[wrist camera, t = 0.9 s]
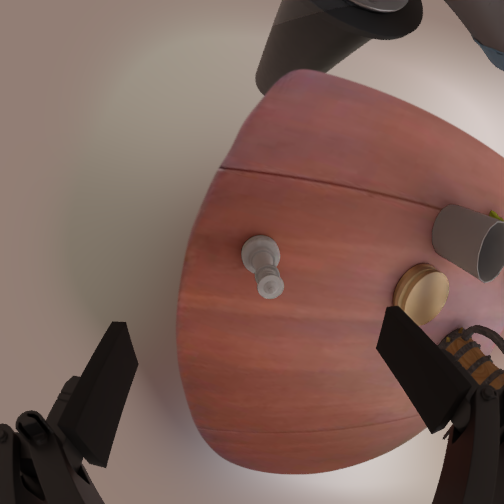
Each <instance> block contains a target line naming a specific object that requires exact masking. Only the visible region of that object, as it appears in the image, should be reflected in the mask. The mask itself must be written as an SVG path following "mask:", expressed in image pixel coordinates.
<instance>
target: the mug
mask: <svg viewBox="0 0 504 504" xmlns="http://www.w3.org/2000/svg"><path fill="white" fill-rule="evenodd" d="M473 333H478V334H482V335H484V336H486V337H488V338H489V339H491V340H492V341H493V342H494V343H495V344H496V345H497V346H498V347H499V349H500V350H501V351H502V353H503V354H504V340H503V338H502V337H501V336H500V335H499V334H497V333H496V332H495V331H493V330H491V329H489V328H487V327H483V326H480V325H474V326H471V327H469V328H468V329H467V330H466V331H465V330H464V329H463V327H461V328H460V329H457V330H455V331H453V332H451V333H450V334H449V335H448V336H446V337H445V338H444V339H443V340H442V342H441V343H440V344H439V345H438V348H439V349H442V348H443V349H445V350H447V351H448V352H450V353H451V354H452V355H453V356H454V357H455V358H456V359H457V361H459V362H460V363H461V364H462V367H464V368H465V369H466V370H467V371H468V372H469V373H470V375H471V376H472V377H473V378H474V379H475V380H476V381H477V383H478V384H479V385H482V384H488V385H491V386H492V387H494V388H495V389H496V390H497V389H503V388H504V370H502V369H499V368H497V367H496V366H495V365H494V364H493V361H492V360H491V356H490V355H488V356H485V355H484V354H483V353H482V351H481V350H480V347H481V345H480V344H477V343H476V342H475V341H473V340H472V337H471V336H472V335H473Z"/></svg>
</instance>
